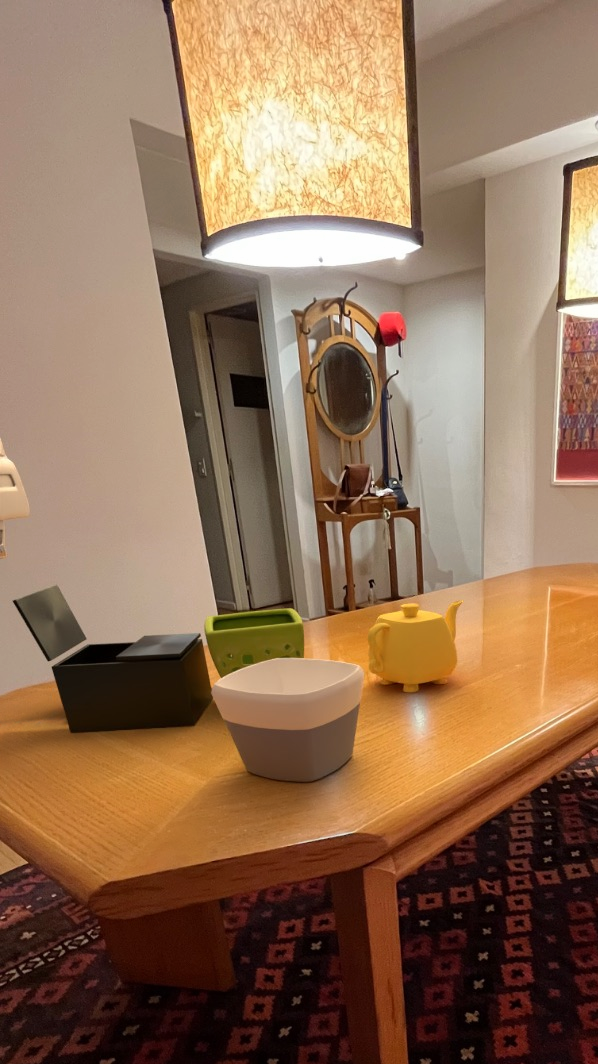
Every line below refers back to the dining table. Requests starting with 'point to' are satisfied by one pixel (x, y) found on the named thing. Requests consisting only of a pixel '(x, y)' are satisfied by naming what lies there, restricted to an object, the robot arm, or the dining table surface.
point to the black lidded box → (135, 684)
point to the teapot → (413, 646)
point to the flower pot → (253, 638)
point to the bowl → (292, 715)
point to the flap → (50, 621)
